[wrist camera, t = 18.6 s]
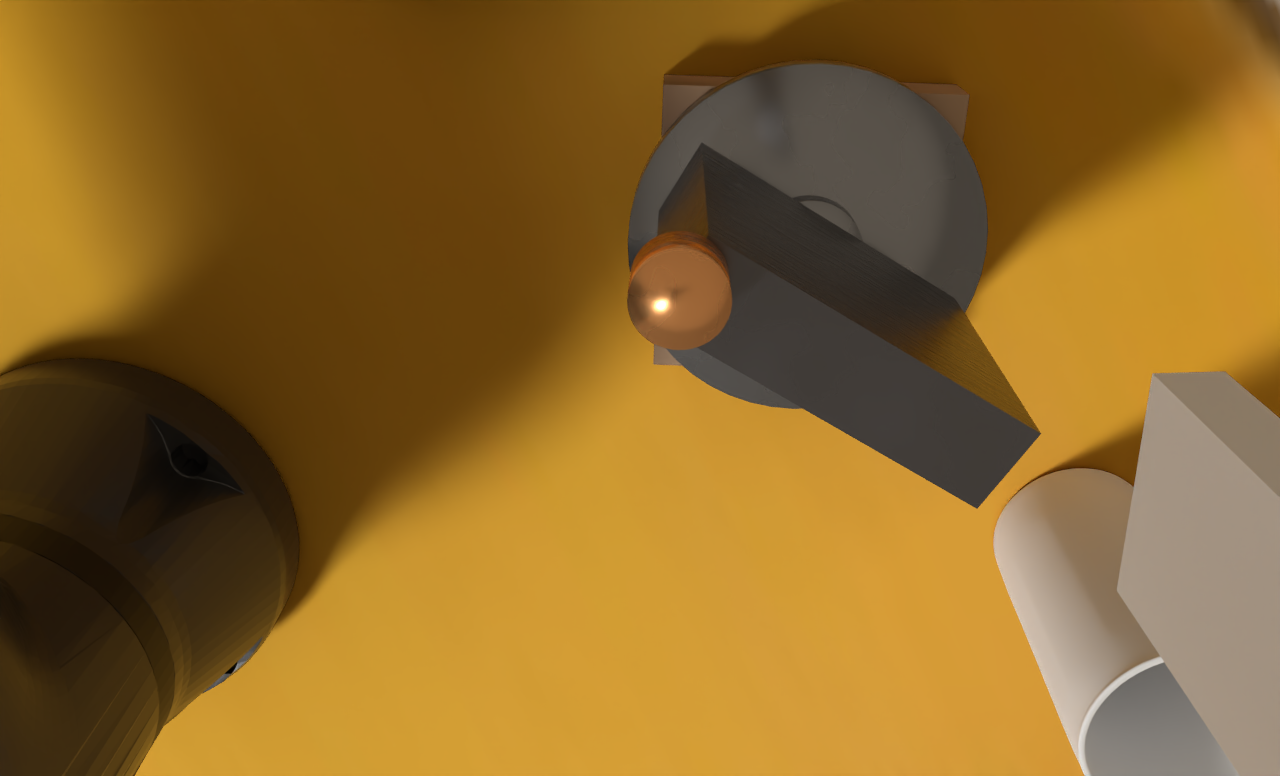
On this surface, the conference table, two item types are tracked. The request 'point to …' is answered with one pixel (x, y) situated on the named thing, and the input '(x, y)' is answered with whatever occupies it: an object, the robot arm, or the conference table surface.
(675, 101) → the plinth
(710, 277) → the lever on round base
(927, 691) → the conference table surface
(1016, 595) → the mug
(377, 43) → the conference table surface
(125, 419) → the robot arm
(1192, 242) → the conference table surface
